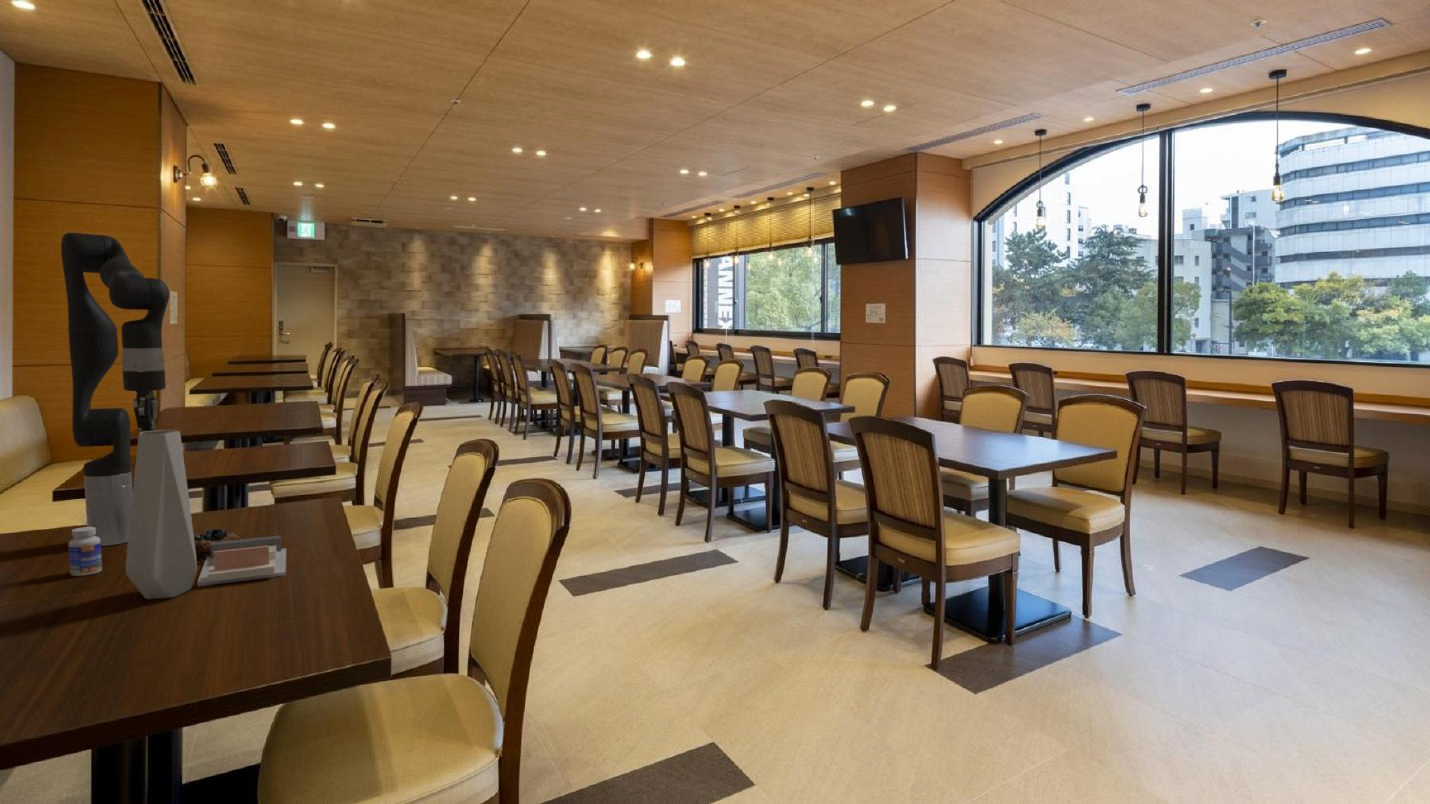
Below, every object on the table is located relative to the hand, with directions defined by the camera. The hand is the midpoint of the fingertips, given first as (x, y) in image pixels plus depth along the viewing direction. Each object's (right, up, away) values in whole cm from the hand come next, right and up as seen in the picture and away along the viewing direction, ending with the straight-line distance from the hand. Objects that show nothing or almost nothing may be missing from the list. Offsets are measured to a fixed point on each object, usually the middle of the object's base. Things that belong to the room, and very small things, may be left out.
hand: (148, 446), depth 170 cm
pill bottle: (-10, -28, -4) cm, 30 cm away
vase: (+16, -29, -15) cm, 36 cm away
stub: (+26, -27, -7) cm, 38 cm away
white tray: (+21, -27, +1) cm, 35 cm away
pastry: (+6, -27, +12) cm, 30 cm away
